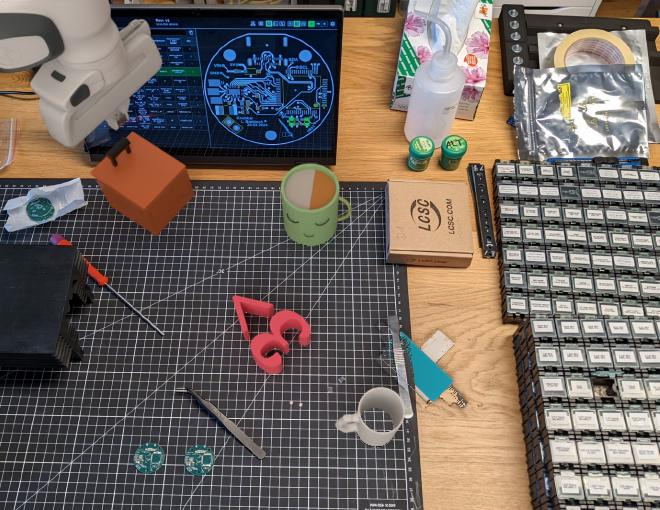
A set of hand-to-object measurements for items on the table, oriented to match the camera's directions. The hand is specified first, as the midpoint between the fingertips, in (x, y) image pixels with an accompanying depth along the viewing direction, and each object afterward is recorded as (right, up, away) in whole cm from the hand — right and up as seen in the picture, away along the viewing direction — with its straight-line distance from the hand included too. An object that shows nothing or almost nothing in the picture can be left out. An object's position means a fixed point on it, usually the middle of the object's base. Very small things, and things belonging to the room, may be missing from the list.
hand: (119, 122), depth 97 cm
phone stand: (+49, -39, +9) cm, 63 cm away
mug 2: (+38, -49, +3) cm, 62 cm away
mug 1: (+30, -15, +21) cm, 40 cm away
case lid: (-1, -6, +14) cm, 16 cm away
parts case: (-1, -10, +23) cm, 25 cm away
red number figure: (+22, -34, +11) cm, 42 cm away
